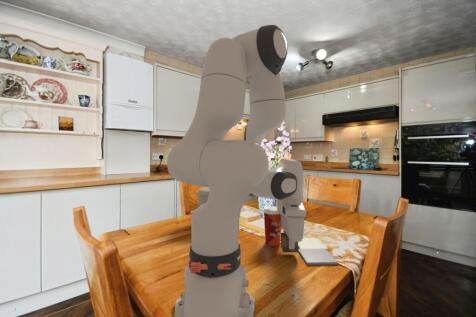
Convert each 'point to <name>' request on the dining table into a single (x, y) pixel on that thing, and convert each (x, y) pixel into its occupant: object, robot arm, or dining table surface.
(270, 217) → the paper cup
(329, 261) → the pad
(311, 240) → the pad
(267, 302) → the dining table surface
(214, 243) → the robot arm
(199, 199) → the canister
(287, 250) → the walnut cube
